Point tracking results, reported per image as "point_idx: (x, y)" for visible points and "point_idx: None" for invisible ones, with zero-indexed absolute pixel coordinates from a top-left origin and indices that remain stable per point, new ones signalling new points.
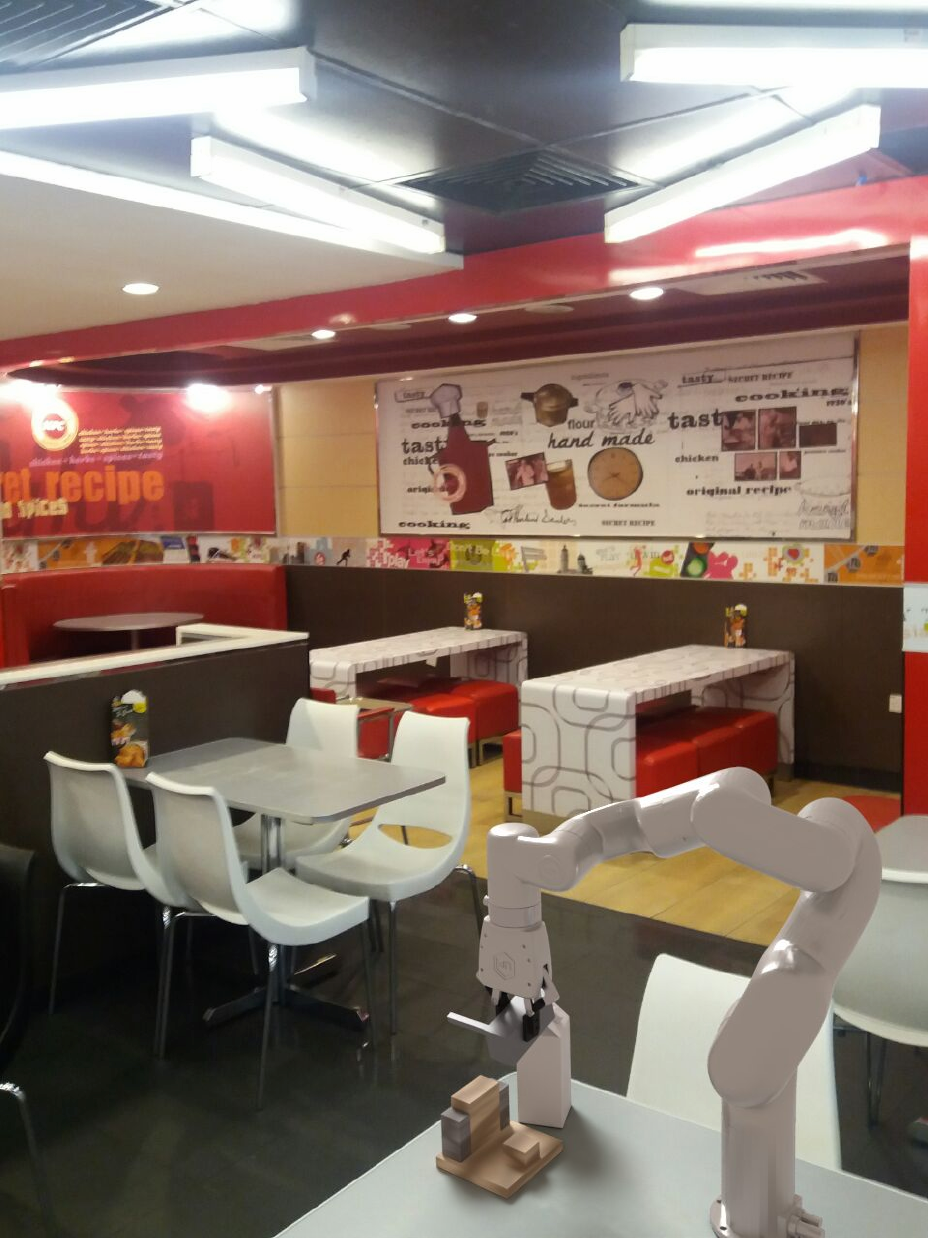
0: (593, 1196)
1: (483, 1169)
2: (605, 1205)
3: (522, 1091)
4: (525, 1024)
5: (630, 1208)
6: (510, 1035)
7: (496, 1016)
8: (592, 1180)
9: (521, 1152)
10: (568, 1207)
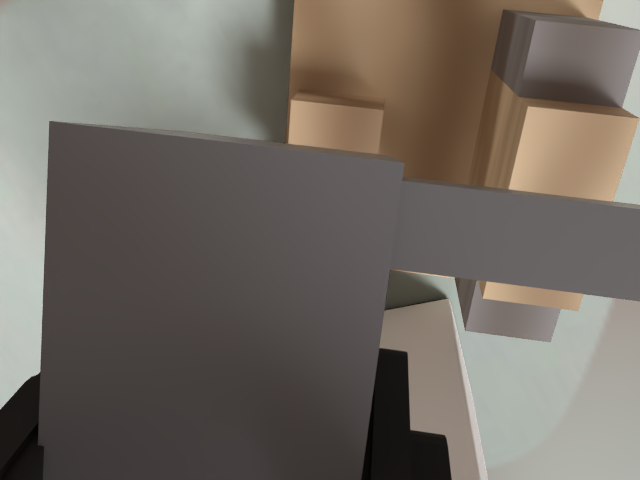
0: (112, 108)
1: (416, 19)
2: (67, 90)
3: (440, 355)
4: (12, 409)
5: (13, 111)
6: (53, 192)
7: (407, 453)
8: None
9: (306, 100)
10: (137, 30)
